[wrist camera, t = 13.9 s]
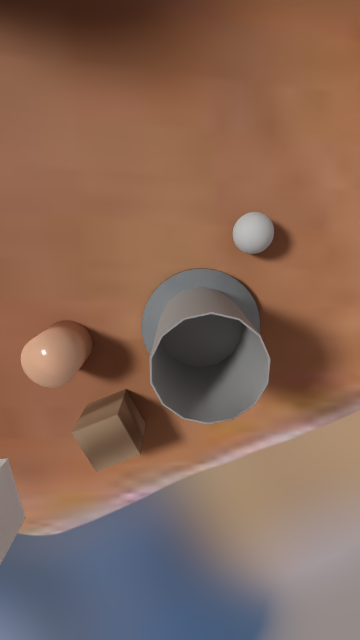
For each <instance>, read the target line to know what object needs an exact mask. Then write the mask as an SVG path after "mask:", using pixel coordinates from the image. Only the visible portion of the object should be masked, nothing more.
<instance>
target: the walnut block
mask: <svg viewBox="0 0 360 640" xmlns="http://www.w3.org/2000/svg"><path fill="white" fill-rule="evenodd" d="M145 427H146V424H145V422H144V420H143V418H142V416H141V415H140V413H139V411H138V409H137V407H136V406H135V404H134V402H133V400H132V398H131V397H130V395H129V393H128V391H127V389H125V390H122V391H120V392H118V393H115V394H113V395H110V396H108V397H105V398H103V399H100V400H98V401H96V402H93V403H91V404H88V405H87V406H86V408H85V409H84V411H83V413H82V415H81V417H80V418H79V420H78V422H77V424H76V426H75V428H74V429H73V431H72V435H73V436H74V438H75V439H76V441H77V442H78V444H79V445H80V447H81V449H82V450H83V452H84V453H85V455H86V456H87V458H88V460H89V461H90V463H91V464H92V466H93V467H94V469H95V471H99V470H102V469H104V468H107V467H109V466H112V465H115V464H117V463H120V462H123V461H125V460H128V459H131V458H133V457H136V456H139V455H140V454H141V449H142V443H143V438H144V432H145Z"/></svg>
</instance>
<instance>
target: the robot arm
mask: <svg viewBox="0 0 360 640" xmlns="http://www.w3.org/2000/svg"><path fill="white" fill-rule="evenodd" d="M24 519H25V515H24V511H23V508H22V505H21V501H20V498H19V495H18V491H17V488H16V485H15V481H14V478H13V474H12V471H11V468H10V464H9V461H8V459H0V564H1V562H2V560H3V558H4V557H5V555H6V553H7V551H8V549H9V547H10V545H11V544H12V541H13V540H14V538H15V536H16V534H17V532H18V531H19V529H20V527H21V525H22V523H23V521H24Z"/></svg>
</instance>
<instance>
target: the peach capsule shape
mask: <svg viewBox="0 0 360 640" xmlns="http://www.w3.org/2000/svg"><path fill="white" fill-rule="evenodd" d="M92 346H93V344H92V338H91V336H90V334H89V332H88V331H87V330H86V328H84V327H83V326H82V325H81V324H79V323H77V322H74V321H69V320H64V321H59V322H57V323H55V324H53V325H52V326H50V327H49V328H48V329H46V330H45V331H43V332H42V333H40V334H39V335H38V336H36V337H35V338H33V339H32V340H31V341H29V342H28V343H27V344H26V345H25V347H24V348H23V350H22V354H21V364H22V367H23V370H24V371H25V373H26V374H27V376H28V377H29V378H30V379H31V380H33V381H34V382H35V383H37V384H39V385H42V386H45V387H59V386H62V385H65V384H66V383H68V382H69V381H70V380H71V379H72V378H73V377H74V375H75V374H76V373H77V371H78V370H79V369H80V367H81V366H82V365H83V363H84V362H85V361H86V359H87V358H88V357H89V355H90V354H91V351H92Z"/></svg>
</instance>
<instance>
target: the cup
mask: <svg viewBox="0 0 360 640" xmlns="http://www.w3.org/2000/svg"><path fill="white" fill-rule="evenodd" d="M269 370H270V356H269V354H268V352H267V349H266V347H265V345H264V342H263V340H262V338H261V335H260V334H259V333H258V332H257V330H256V329H255V328H254V327H253V325H252V324H251V323H250V321H249V320H248V319H247V318H246V316H245V315H244V314H243V313H242V311H241V310H240V309H239V308H238V306H237V305H236V304H235V303H234V302H233V301H232V300H231V299H230V298H228V297H227V296H226V295H225V294H223V293H222V292H221V291H219V290H215V289H211V288H206V287H202V286H201V287H196V288H192V289H187V290H183V291H181V292H180V293H179V294H177V295H176V296H175V297H174V298H172V299H171V300H170V301H168V302H167V304H166V307H165V309H164V311H163V313H162V315H161V317H160V319H159V323H158V327H157V331H156V335H155V339H154V343H153V347H152V351H151V355H150V384H151V385H152V387H153V389H154V391H155V393H156V394H157V396H158V398H159V400H160V401H161V403H162V405H163V406H165V407H166V408H168V409H169V410H171V411H172V412H173V413H175V414H176V415H178V416H179V417H181V418H182V419H185V420H190V421H195V422H200V423H205V424H211V423H217V422H222V421H227V420H232V419H235V418H236V417H238V416H239V415H241V414H242V413H244V412H245V411H247V410H248V409H250V408H251V407H253V406H254V405H255V404H256V402H257V401H258V399H259V398H260V396H261V394H262V393H263V391H264V390H265V388H266V386H267V385H268V380H269Z"/></svg>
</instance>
